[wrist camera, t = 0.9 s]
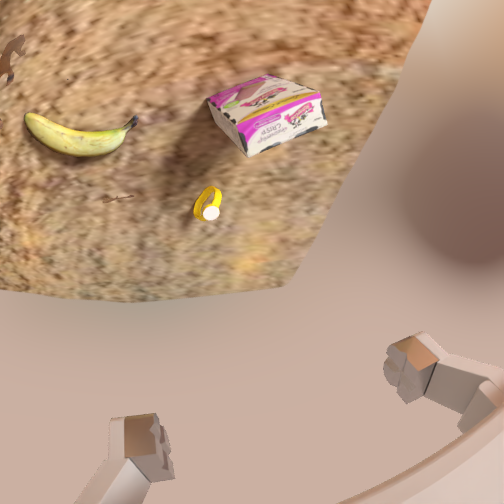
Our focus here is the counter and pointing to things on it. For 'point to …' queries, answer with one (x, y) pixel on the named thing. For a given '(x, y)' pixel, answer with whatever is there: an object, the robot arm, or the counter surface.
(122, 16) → the counter surface
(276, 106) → the candy bar box
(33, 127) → the banana
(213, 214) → the watch
